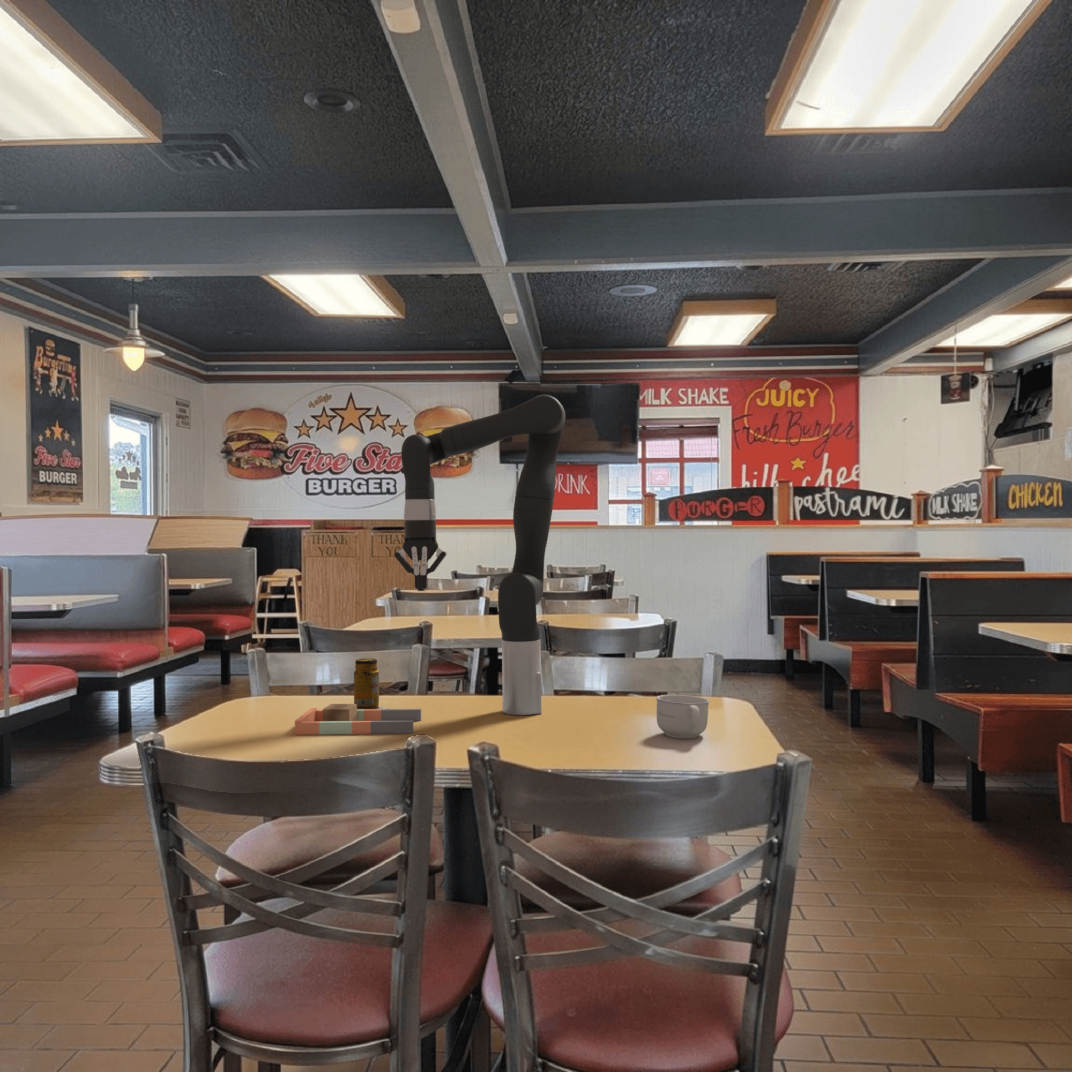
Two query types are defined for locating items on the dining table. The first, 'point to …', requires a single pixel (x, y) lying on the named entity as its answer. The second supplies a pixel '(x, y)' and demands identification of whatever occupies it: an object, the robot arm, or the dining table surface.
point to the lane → (359, 722)
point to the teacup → (682, 715)
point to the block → (340, 712)
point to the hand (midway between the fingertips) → (421, 590)
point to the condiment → (366, 684)
